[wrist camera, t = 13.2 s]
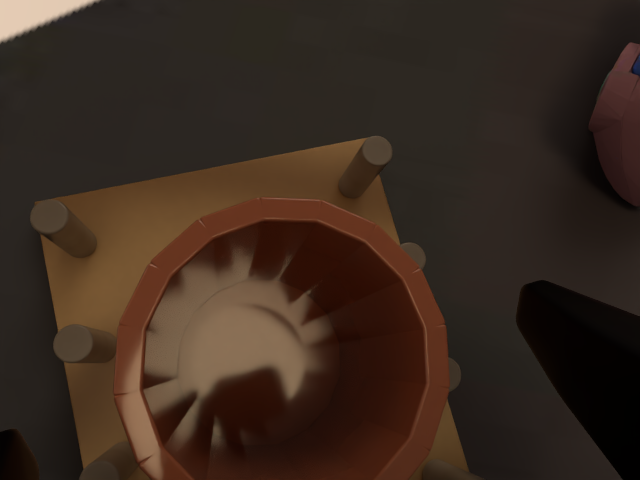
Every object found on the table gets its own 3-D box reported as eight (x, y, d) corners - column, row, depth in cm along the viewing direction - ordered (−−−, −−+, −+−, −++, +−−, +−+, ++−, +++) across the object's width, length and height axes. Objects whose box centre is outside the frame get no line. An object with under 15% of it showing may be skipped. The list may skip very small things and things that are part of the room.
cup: (258, 501, 17) (291, 627, 9) (122, 361, 17) (35, 360, 9) (385, 358, 19) (510, 355, 11) (261, 233, 19) (290, 135, 11)
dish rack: (470, 507, 19) (542, 550, 15) (123, 639, 17) (89, 736, 12) (361, 146, 22) (396, 93, 17) (43, 210, 19) (-10, 164, 15)
